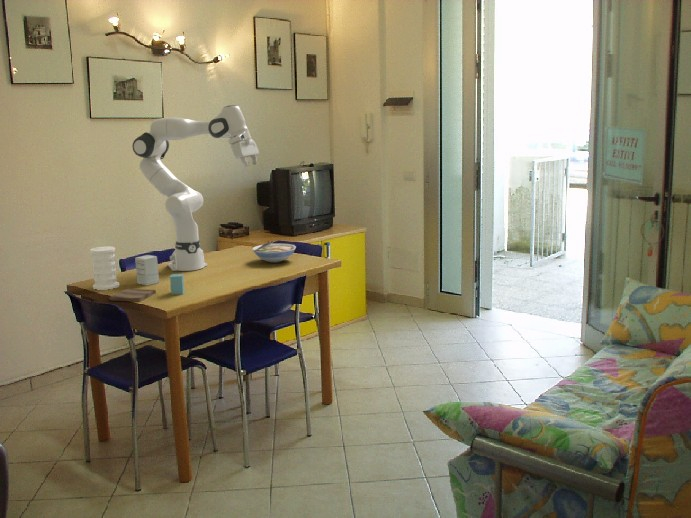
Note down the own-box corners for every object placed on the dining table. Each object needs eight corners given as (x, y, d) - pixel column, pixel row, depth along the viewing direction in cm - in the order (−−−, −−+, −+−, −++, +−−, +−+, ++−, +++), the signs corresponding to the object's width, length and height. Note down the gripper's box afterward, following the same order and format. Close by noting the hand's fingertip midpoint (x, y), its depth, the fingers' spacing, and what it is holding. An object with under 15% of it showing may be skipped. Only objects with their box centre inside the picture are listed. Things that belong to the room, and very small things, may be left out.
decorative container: (121, 283, 326) (117, 245, 322) (117, 289, 315) (113, 250, 311) (95, 284, 325) (91, 246, 321) (90, 290, 313) (86, 251, 310)
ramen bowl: (287, 267, 351) (286, 251, 349) (245, 265, 357) (244, 250, 355) (303, 257, 375) (302, 242, 373) (263, 255, 380) (262, 241, 379)
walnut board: (126, 291, 310) (126, 288, 310) (155, 293, 307) (155, 289, 307) (109, 300, 297) (109, 296, 296) (139, 301, 294) (139, 298, 293)
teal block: (172, 291, 309) (171, 274, 307) (184, 291, 309) (183, 273, 307) (171, 294, 304) (169, 276, 302) (183, 294, 304) (181, 276, 303)
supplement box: (150, 280, 330) (148, 254, 328) (159, 282, 326) (157, 256, 323) (136, 283, 325) (134, 257, 322) (146, 285, 320) (144, 259, 317)
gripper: (245, 139, 342) (254, 165, 343) (226, 141, 323) (236, 169, 324) (256, 134, 340) (265, 161, 341) (238, 136, 320) (248, 165, 322)
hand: (251, 165), depth 332 cm, fingers open, 8 cm apart
